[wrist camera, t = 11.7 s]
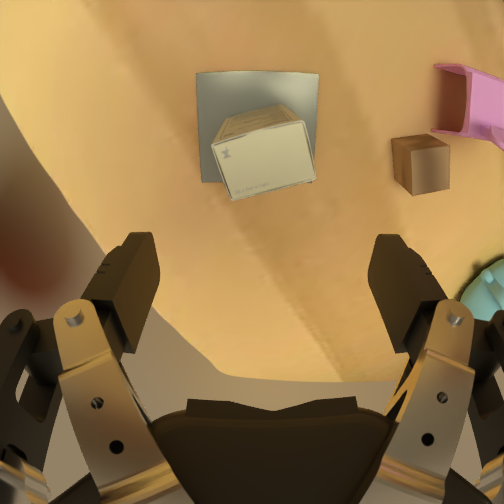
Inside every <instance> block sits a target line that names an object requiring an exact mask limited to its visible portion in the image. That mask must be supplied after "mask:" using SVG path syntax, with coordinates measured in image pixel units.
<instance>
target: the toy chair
mask: <svg viewBox="0 0 504 504" xmlns="http://www.w3.org/2000/svg"><path fill="white" fill-rule="evenodd" d="M434 68H438V69H442V70H446V71H449V72H453V73H457V74H460V75H464V76H466V78H467V103H466V111H465V118H464V125H463V128H462V130H461V131H460V132H453V131H445V130H436V129H431V132H436V133H443V134H450V135H456V136H462V137H468V138H477V139H482V140H487V141H491V142H493V143H494V144H495V145H496V146H498V147H499V148H500V149H502V150H503V151H504V81H503V80H501V79H500V78H498V77H495V76H493V75H490V74H487V73H485V72H482V71H479V70H476V69H473V68H470V67H467V66H464V65H461V64H438V65H434Z"/></svg>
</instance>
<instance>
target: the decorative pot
mask: <svg viewBox="0 0 504 504" xmlns="http://www.w3.org/2000/svg"><path fill="white" fill-rule="evenodd" d="M460 303H462V304H464V305H465V306H466V307H467V308H468V309H469V310H470V311H471V313H472V314H473V317H474V318H475V319H480V320H485V321H490V320H491V318H492V316H493V315H494V313H495V312H496V311H498V310H504V259H501V260H499V261H496V262H494V263H493V264H492V265H491V266H489V267H488V268H487V269H484V270H483V271H482V272H481V274H480V275H479V276H478V277H477V278H476V279H475V280H474V281H473V282H472V283H471V284H469V285H468V286H467V287H466V288H465V290H464V293H463V295H462V297H461V300H460Z"/></svg>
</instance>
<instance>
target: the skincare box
mask: <svg viewBox="0 0 504 504" xmlns="http://www.w3.org/2000/svg"><path fill="white" fill-rule="evenodd" d="M211 147H212V150H213V153H214V156H215V159H216V162H217V165H218V168H219V171H220V174H221V177H222V179H223V182H224V185H225V187H226V190H227V192H228V195H229V197H230V199H231V200H232V201H235V200H239V199H243V198H248V197H252V196H256V195H260V194H264V193H268V192H272V191H275V190H279V189H283V188H287V187H291V186H295V185H298V184H302V183H306V182H310V181H313V180H316V172H315V167H314V161H313V156H312V151H311V146H310V141H309V137H308V133H307V129H306V125H305V122H304V121H303V120H302V119H301V118H299V117H298V116H297V115H296V114H295V113H293V112H292V111H291V110H290V109H289V108H287V107H286V106H285V105H284V104H278V105H273V106H269V107H264V108H260V109H256V110H252V111H249V112H245V113H241V114H238V115H235V116H231V117H228V118H226V119H225V121H224V122H223V124H222V126H221V128H220V130H219V131H218V133H217V135H216V137H215V139H214V141H213V142H212V144H211Z"/></svg>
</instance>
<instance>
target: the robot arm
mask: <svg viewBox="0 0 504 504" xmlns="http://www.w3.org/2000/svg"><path fill="white" fill-rule="evenodd" d="M159 282H160V267H159V262H158V258H157V253H156V248H155V243H154V238H153V235H152V233H151V232H131V233H129V235H128V236H127V238H126V239H125V241H124V243H123V244H122V246H117V247H116V248H114V249H113V250H112V251H111V252H109V253H108V254H107V255H106V257H105V258H104V260H103V262H102V263H101V265H100V267H99V268H98V270H97V273H96V274H94V276H93V278H92V279H91V281H90V283H89V284H88V286H87V288H86V289H85V291H84V293H83V295H82V296H81V298H80V299H76V300H73V301H70V302H68V303H66V304H64V305H63V306H62V307H61V308H59V310H58V311H57V312H56V314H55V316H54V318H52V319H46V320H40V321H36V320H35V319H34V317H33V315H32V314H31V312H29V310H26V309H19V310H16V311H14V312H12V313H10V314H9V315H8V316H7V317H6V318H5V319H4V320H3V322H2V323H1V325H0V504H504V400H503V398H502V395H501V392H500V390H499V387H498V384H497V382H496V379H495V377H494V374H495V372H496V371H497V370H498V369H499V368H500V366H501V367H502V370H503V372H504V310H498V311H496V312H495V313H494V315H493V316H492V318H491V320H490V321H485V320H480V319H475V318H474V317H473V314H472V313H471V311H470V310H469V309H468V308H467V307H466V306H465V305H464V304H462V303H460V302H458V301H456V300H452V299H448V298H447V296H446V294H445V293H444V291H443V289H442V288H441V286H440V285H439V283H438V282H437V280H436V278H435V277H434V275H432V272H431V271H430V269H429V268H428V267H427V265H426V263H425V262H424V260H423V259H422V257H421V256H420V255H419V254H417V253H416V252H415V251H414V250H412V249H411V248H408V247H407V245H406V244H405V242H404V241H403V240H402V238H401V237H400V235H398V234H379V235H378V236H377V238H376V241H375V245H374V249H373V253H372V257H371V261H370V265H369V269H368V283H369V286H370V289H371V291H372V294H373V296H374V298H375V301H376V303H377V306H378V308H379V311H380V313H381V316H382V319H383V321H384V324H385V326H386V329H387V332H388V334H389V337H390V340H391V342H392V345H393V348H394V351H395V354H396V353H404V352H408V354H409V358H408V360H407V362H406V364H405V366H404V368H403V371H402V373H401V375H400V378H399V380H398V383H397V385H396V387H395V389H394V391H393V394H392V396H391V398H390V400H389V402H388V404H387V406H386V407H385V409H384V411H383V412H382V414H380V413H378V412H375V411H372V410H369V409H365V408H360V407H358V406H357V401H356V397H355V396H353V397H343V398H334V399H321V400H314V401H310V402H307V403H304V404H300V405H297V406H293V407H289V408H285V409H282V410H277V411H269V410H264V409H259V408H255V407H251V406H246V405H242V404H238V403H234V402H230V401H213V400H198V399H188V401H187V407H186V410H181V411H177V412H173V413H170V414H167V415H164V416H162V417H160V418H158V419H156V420H154V421H152V420H151V418H150V416H149V415H148V413H147V412H146V410H145V408H144V406H143V404H142V403H141V401H140V399H139V397H138V395H137V393H136V391H135V389H134V387H133V385H132V383H131V381H130V379H129V377H128V375H127V373H126V371H125V369H124V367H123V365H122V363H121V361H120V360H121V356H122V354H123V352H125V353H133V354H135V352H136V349H137V345H138V342H139V339H140V336H141V333H142V330H143V327H144V325H145V321H146V318H147V316H148V313H149V310H150V307H151V305H152V302H153V299H154V296H155V293H156V291H157V288H158V285H159ZM24 369H25V370H26V371H27V372H28V374H29V377H28V379H27V382H26V384H25V387H24V389H23V392H22V395H21V397H20V400H19V403H18V402H17V400H16V394H15V392H16V387H17V384H18V382H19V380H20V377H21V375H22V373H23V370H24ZM62 396H63V398H64V401H65V405H66V408H67V411H68V414H69V418H70V421H71V424H72V426H73V430H74V432H75V435H76V438H77V441H78V443H79V446H80V449H81V451H82V453H83V456H84V459H85V461H86V464H87V465H88V468H89V470H90V472H89V473H88V474H87V475H85V476H84V477H83V478H82V479H80V480H79V481H78V482H76V483H75V484H74V485H73V486H71V487H70V488H69V489H67V490H66V491H65V492H63V493H62V494H61V495H59V496H58V497H56V498H55V499H54V500H52V501H51V502H50V503H49V502H48V500H49V499H50V497H51V490H50V488H49V487H48V486H47V483H46V479H45V477H44V475H43V474H42V472H43V467H44V463H45V458H46V454H47V450H48V446H49V442H50V438H51V434H52V430H53V426H54V423H55V419H56V416H57V412H58V409H59V405H60V402H61V399H62ZM467 411H468V414H469V417H470V420H471V424H472V428H473V432H474V436H475V439H476V443H477V448H478V452H479V456H480V460H481V465H482V472H481V475H480V479H478V480H477V481H476V483H475V485H474V486H473V485H472V484H471V483H470V482H468V481H467V480H466V479H464V478H463V477H462V476H461V475H459V474H458V473H457V472H455V471H454V470H453V469H452V468H450V466H451V463H452V460H453V458H454V455H455V452H456V449H457V446H458V442H459V439H460V436H461V432H462V429H463V425H464V422H465V418H466V414H467Z"/></svg>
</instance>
